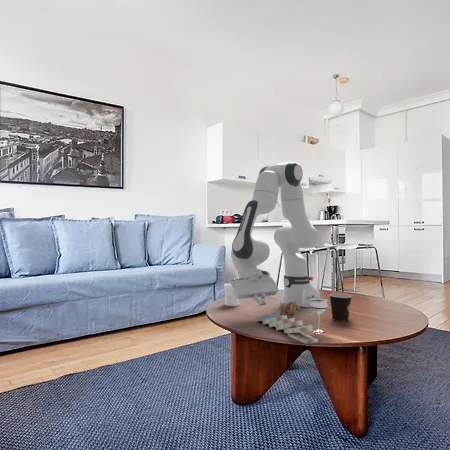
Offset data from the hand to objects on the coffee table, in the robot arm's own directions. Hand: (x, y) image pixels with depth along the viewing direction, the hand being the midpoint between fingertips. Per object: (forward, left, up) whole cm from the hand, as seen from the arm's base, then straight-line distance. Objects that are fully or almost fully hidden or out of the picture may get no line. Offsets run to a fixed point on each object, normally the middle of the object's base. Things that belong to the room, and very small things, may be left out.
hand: (262, 304), depth 143 cm
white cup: (-3, -31, -7) cm, 32 cm away
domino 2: (0, +3, -6) cm, 7 cm away
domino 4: (0, +12, -6) cm, 14 cm away
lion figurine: (-10, +4, -7) cm, 13 cm away
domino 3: (0, +8, -6) cm, 10 cm away
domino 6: (0, +19, -7) cm, 20 cm away
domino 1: (0, -1, -6) cm, 6 cm away
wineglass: (-11, +20, -7) cm, 24 cm away
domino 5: (0, +17, -6) cm, 18 cm away
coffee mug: (-33, +12, -7) cm, 36 cm away
